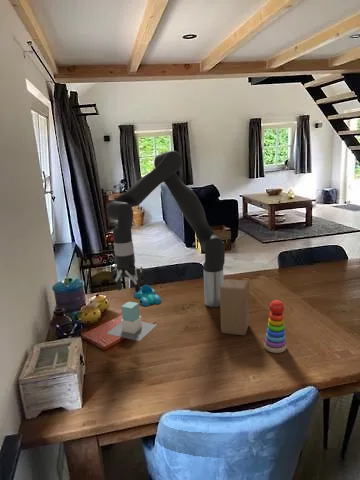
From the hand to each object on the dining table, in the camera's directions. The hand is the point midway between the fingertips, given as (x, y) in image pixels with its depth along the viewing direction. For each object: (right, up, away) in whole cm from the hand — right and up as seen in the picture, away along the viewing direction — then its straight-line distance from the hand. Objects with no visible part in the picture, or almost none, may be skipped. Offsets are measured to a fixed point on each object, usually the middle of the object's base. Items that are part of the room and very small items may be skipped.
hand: (128, 290), depth 147 cm
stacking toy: (+56, -19, -13) cm, 60 cm away
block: (+43, -16, +2) cm, 46 cm away
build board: (+1, -18, +5) cm, 18 cm away
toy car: (+4, -9, +37) cm, 38 cm away
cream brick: (+1, -17, +5) cm, 17 cm away
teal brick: (+1, -12, +3) cm, 12 cm away
